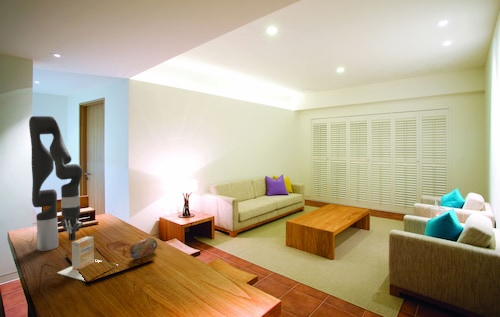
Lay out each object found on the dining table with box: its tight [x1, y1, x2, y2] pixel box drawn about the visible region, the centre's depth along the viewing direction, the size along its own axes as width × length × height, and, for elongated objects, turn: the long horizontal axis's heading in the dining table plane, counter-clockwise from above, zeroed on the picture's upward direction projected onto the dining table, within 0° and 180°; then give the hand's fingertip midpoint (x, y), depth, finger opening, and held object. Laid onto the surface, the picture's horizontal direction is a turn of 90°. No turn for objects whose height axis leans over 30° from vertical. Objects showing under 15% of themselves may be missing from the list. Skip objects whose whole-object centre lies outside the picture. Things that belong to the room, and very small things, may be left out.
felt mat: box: [56, 258, 119, 282], centre depth 122 cm, size 20×16×1 cm
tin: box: [129, 237, 158, 260], centre depth 136 cm, size 15×3×8 cm, turn 147°
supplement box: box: [71, 236, 95, 270], centre depth 124 cm, size 8×5×13 cm, turn 166°
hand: (72, 240), depth 127 cm, fingers closed
